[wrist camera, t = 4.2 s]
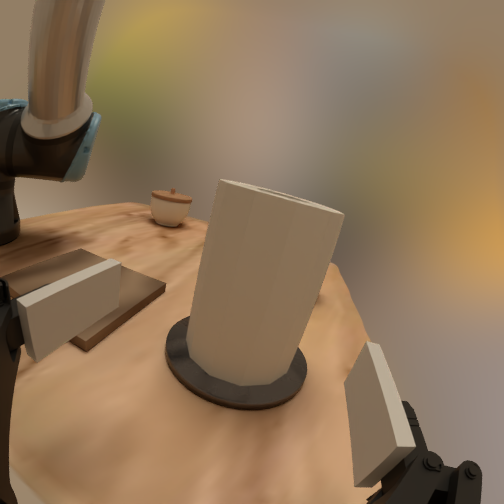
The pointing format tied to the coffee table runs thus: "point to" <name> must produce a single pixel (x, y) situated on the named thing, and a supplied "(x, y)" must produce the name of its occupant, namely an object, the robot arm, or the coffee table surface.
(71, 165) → the robot arm
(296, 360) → the disc
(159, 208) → the lidded jar
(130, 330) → the coffee table surface
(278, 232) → the towel roll
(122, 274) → the cutting board
